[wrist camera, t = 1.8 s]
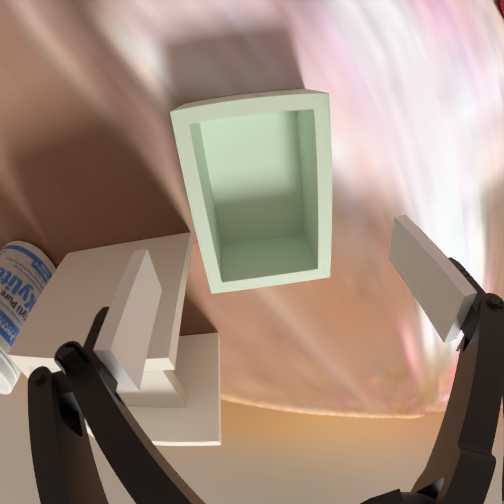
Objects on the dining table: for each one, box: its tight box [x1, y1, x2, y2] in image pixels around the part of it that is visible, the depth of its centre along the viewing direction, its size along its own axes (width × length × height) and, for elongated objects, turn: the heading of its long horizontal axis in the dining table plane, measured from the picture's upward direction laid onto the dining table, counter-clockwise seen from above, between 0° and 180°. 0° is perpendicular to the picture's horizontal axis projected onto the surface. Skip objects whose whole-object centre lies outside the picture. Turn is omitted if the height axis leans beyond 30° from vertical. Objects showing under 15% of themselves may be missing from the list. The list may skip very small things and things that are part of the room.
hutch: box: [7, 232, 221, 446], centre depth 25 cm, size 15×14×14 cm
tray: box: [170, 89, 332, 294], centre depth 22 cm, size 10×14×6 cm
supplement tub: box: [0, 241, 56, 394], centre depth 22 cm, size 10×10×15 cm
